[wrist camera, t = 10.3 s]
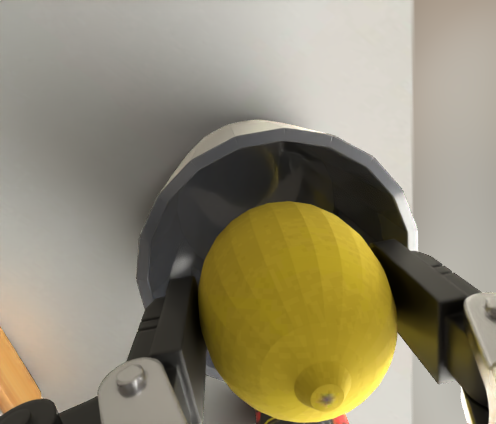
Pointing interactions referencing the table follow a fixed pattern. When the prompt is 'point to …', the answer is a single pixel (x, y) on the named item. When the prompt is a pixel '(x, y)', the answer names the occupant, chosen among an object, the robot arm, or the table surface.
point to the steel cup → (263, 196)
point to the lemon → (296, 312)
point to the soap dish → (14, 378)
